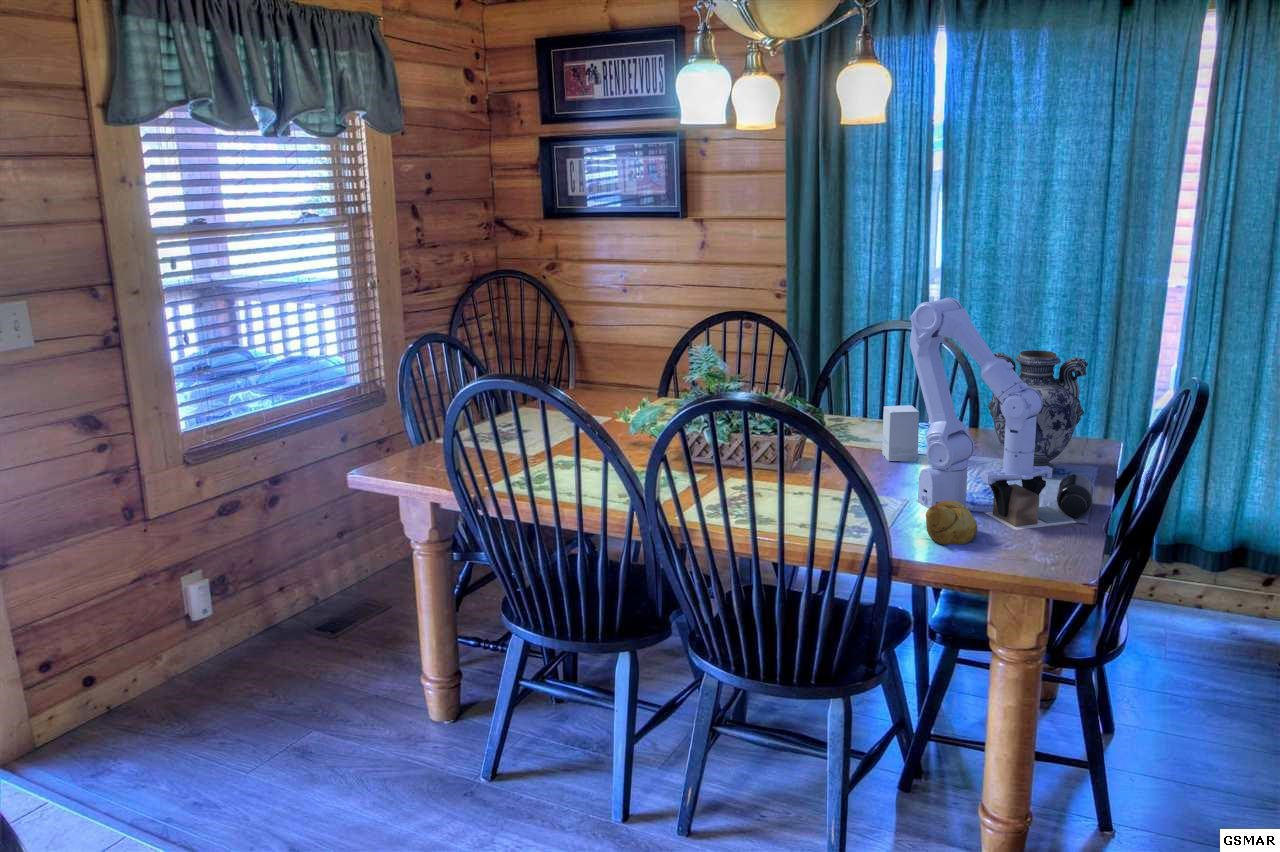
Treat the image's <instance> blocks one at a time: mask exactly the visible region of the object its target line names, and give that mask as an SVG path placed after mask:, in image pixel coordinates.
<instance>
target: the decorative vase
mask: <svg viewBox="0 0 1280 852" xmlns="http://www.w3.org/2000/svg"><path fill="white" fill-rule="evenodd" d="M993 354H994V356H995V357H996V358H999V359H1005V360H1006V361H1007V363H1008V362H1011V363H1012V365H1013V366H1014V367H1013V368H1012V369H1013V370H1014V371H1015V372H1016V370H1017V367H1016V363H1018V364H1019V365H1020V368H1021V369H1020V370H1019V373H1020V375H1018V376H1019V378H1020V379H1021V380H1022V381H1023V383H1026V384H1027V385H1028V387H1030V388H1033V389H1036V390H1037V391H1038V392H1039V394H1040V396H1041V398H1042V401H1043V405H1042V409H1041V411H1040V412H1039V413H1038V414H1036V415H1035V416H1037V418H1036V435H1035V450H1034V464H1033V466H1048V467H1050V468H1052V474H1053V473H1055V472H1056V466H1055V465H1054V464H1053V463H1051V461H1053V460H1055V458H1057V457H1058V456H1059V455H1061V454H1062V452H1063V451H1064V450H1065V449H1066V448H1067V446H1068V444H1069V443H1070V441H1071V439H1072V438H1073V435H1074V432H1075V429H1076V426H1077V425H1078V424H1079V423H1080V421H1081V416H1083V415H1084V414H1085V412H1084V410H1083V409H1084V408H1083V407H1082V406H1081V401H1080V399H1079V397H1080V385H1079V382H1078V378H1080V377H1083V376H1086V375H1087V367H1088V365H1089V363H1088V362H1087V361H1086V359H1085V358H1081V357H1079V356H1078V357H1072V358H1071V359H1068V360H1066V361H1064V362H1063V363H1062V364H1061V365H1060V366H1059V371H1058V372H1059V373H1058V378H1055V376H1054V375H1055V370H1054V368H1055V366H1056V365H1059V364H1060V363H1061V362H1062V360H1061V359H1060V357H1059V356H1058V357H1057V353H1055V352H1053V351H1048V350H1034V349H1033V350H1032V349H1031V350H1030V349H1029V350H1024V351H1020V355H1019V356H1017V357H1016V358H1014V359H1015V360H1014V359H1013V358H1012V357H1010V356H1009V355H1006V354H1005V353H1004V352H1002V353H1001V352H996V353H993ZM1015 362H1016V363H1015ZM988 404H989V405H988V407H987V408H988V410H989V411H990V412H989V415H990V416H991V418H992V420H993V425H994V430H995V433H996V437H997V439H998V441H999V443H1000V445H1001V447H1002V449H1004V442H1005V423H1006V420H1005V417H1004V416H1003V414H1002V412H1001V405H1002V403H1001V402H1000V401H999V399H998V398H997V397H996V396H995V394H994V393H993V394H992V396H991V401H990V402H989V403H988ZM1033 417H1034V416H1033ZM1030 418H1031V417H1030ZM1054 471H1055V472H1054Z"/></svg>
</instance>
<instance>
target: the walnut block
mask: <svg viewBox="0 0 1280 852" xmlns="http://www.w3.org/2000/svg"><path fill="white" fill-rule="evenodd" d="M1008 485H1009V486H1011V487H1013V490H1012V492H1011V495H1010V499H1009V508H1008V515H1007V517H1003V516H1001V515H999V513H998V508H997V503H996V499H995V496H994V495H993V502H992V512H993V515H995V516H997V517H999V518H1000V519H1002V520H1004V521H1006V522H1008V523H1009V524H1011V525H1013V526H1015V527H1017V526H1025V525H1034V524H1038V509H1039V506H1040V494H1039V495H1038V494H1035V493H1033V492H1031V491H1029V490H1027V489H1025V488H1023V487H1022V485H1020V484H1017V483H1014V484H1013V483H1012V484H1008Z"/></svg>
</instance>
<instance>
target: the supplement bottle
mask: <svg viewBox="0 0 1280 852" xmlns="http://www.w3.org/2000/svg"><path fill="white" fill-rule="evenodd" d="M1093 500H1094V485H1093V484H1092V482H1091V480H1090V479H1089V478H1088V477H1086V476H1085V475H1083V474H1078V473H1072V474H1068V475H1067V476H1065V477H1063V478H1062V480H1061V481H1060V482H1059V485H1058V489H1057V493H1056V503H1057V506H1058V508H1059V510H1060V512H1061V513H1063V514H1065V515H1067V516H1069V517H1071V518H1078V517H1081V516H1084V515H1085V514H1087V513H1088V512H1089V511H1090V509H1091V508H1092V506H1093Z"/></svg>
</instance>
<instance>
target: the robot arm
mask: <svg viewBox="0 0 1280 852" xmlns="http://www.w3.org/2000/svg"><path fill="white" fill-rule="evenodd" d="M914 309H915V310H914V311H913V312H912V314H911V315H910V317H909V319H910V323H911V331H910V332H911V333H910V338H909V339H910V340H909V347H910V351H911V355H912V358H913V362H914V367H915V370H916V374H917V378H918V381H919V385H920V389H921V392H922V397H923V400H924V405H925V408H926V411H927V417H928V420H929V422H930V426H929V427H928V431H927V433H926V436H925V439H926V444H927V445H926V451H925V453H926V458H927V460H928V462H929V463H930V464H931V465H930V466H929V467H925V468H923V469H921V471H920V472H919V475H918V490H917V491H918V494H917V500H916V502H917V503H918V504H920V505H922V506H923V507H925V508H926V509H927V510H928V509H929V508H930V507H932V506H934V505H935V504H937V503H939V502H942V501H950V500H951V501H956V502H959V503H961V504H962V505H964V506H965V507H966V508H967V509H973V508H974V506H973V505H971V504H970V503H968V502H967V487H968V485H967V484H968V467H969V466H968V464H969V459H970V458H972V456H973V454H975V447H976V446H975V442H974V439H973V437H971V436H970V434H969V433H968V431H967V427H966V424H965V423H963V422H962V421H961V420H960V419H958V418H957V414H956V410H955V406H954V402H953V399H952V394H951V389H950V386H949V383H948V379H947V375H946V372H945V368H944V364H943V361H942V357H941V353H940V349H939V346H940V344H941V342H942V341H943V340H944V338H948V339H949V338H950V339H954V340H956V341H957V342H958V343H959V344H960V345H961V346H962V348H963V349H964V350H965V351H966V352H967V353H968V354H969V356H970V357H971V359H973V360H974V361H975V362H976V363H977V365H978V366H979V367H980V368H981V370H980V378H981V379H982V380H983V382H984V383H985V384H986V385H987V386H988V388H989V390H991V392H992V393H993V394H995V396H996V397H997V398H998V399H999V401H1000V402H1001V403H1002V405H1001V412H1002V414H1003V416H1004V417H1005V420H1006V423H1005V442H1004V448H1003V459H1002V460H1003V461H1002V468H998V469H995V470H994V469H993V470H991V471H986V472H982V480H981V481H982V483H984V484H986V485H988V486H989V488H990V490H991V491H992V494H993V497H994V496H995V499H996V503H997V508H998V513H999V515H1001V516H1003V517H1007V515H1008V508H1009V499H1010V495H1011V492H1012V490H1013V487H1011V486H1009V485H1010V484H1009V483H1008V482H1012V481H1021V487H1023V488H1025V489H1027V490H1029V491H1031V492H1033V493H1035V494H1038V495H1039V496H1040V495H1041V493H1042V491H1043V490H1044V488H1046V486H1047V481H1046V480H1045V479H1043V478H1046V479H1047V478H1048V479H1050V478H1053V473H1052V468H1050V467H1048V466H1033V464H1034V450H1035V435H1036V418H1037V416H1035V415H1036V414H1038V413H1039V412H1040V411H1041V409H1042V405H1043V401H1042V398H1041V396H1040V394H1039V392H1038V391H1037V390H1036V389H1033V388H1030V387H1028V385H1027V384H1026V383H1023V381H1022V380H1021V379H1020V378H1019V376H1020V375H1018V374H1017V373H1016V371H1014V370H1013V369H1012V368H1013V367H1014V366H1013V365H1012V363H1011V362H1008V363H1007V361H1006V360H1005V359H999V358H996V357H995V356H994V354H995V353H993V351H992V350H991V349H990V347H989V346H988V344H987V343H986V341H985V340H984V338H983V337H982V336H981V334H980V333H979V331H978V330H977V328H976V326H975V325H974V324H973V323H972V321H971V318H970V315H969V312H968V310H966V309H965V308H964V307H962V304H961V303H960V301H959V300H958V299H955V298H953V297H944V298H941V299H938V300H934V301H933V300H931V301H923V302H921V303H920V304H918V306H917V307H915V308H914ZM1033 416H1034V417H1033ZM1030 417H1031V418H1030Z"/></svg>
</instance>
